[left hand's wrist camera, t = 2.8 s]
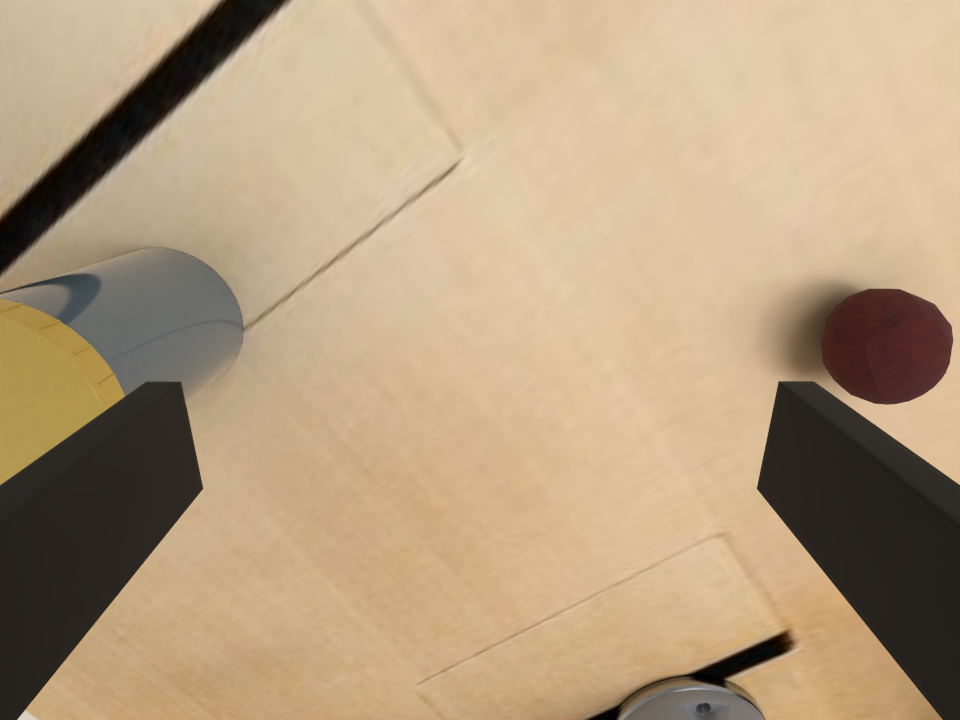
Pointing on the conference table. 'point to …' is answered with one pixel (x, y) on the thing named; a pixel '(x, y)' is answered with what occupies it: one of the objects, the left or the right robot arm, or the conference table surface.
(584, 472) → the conference table surface
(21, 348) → the lid
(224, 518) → the conference table surface
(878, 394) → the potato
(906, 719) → the conference table surface
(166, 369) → the jar
